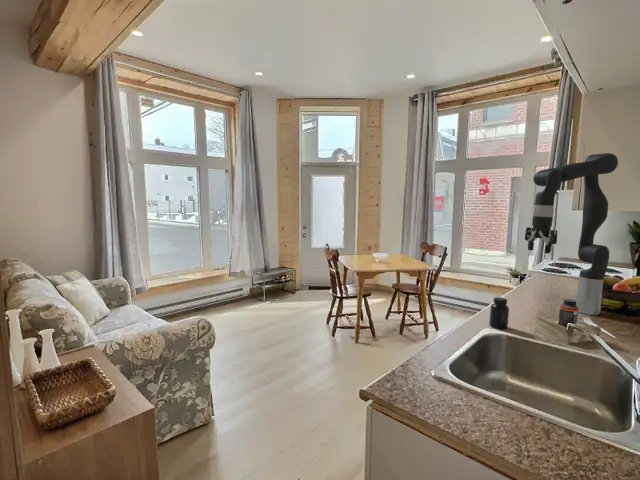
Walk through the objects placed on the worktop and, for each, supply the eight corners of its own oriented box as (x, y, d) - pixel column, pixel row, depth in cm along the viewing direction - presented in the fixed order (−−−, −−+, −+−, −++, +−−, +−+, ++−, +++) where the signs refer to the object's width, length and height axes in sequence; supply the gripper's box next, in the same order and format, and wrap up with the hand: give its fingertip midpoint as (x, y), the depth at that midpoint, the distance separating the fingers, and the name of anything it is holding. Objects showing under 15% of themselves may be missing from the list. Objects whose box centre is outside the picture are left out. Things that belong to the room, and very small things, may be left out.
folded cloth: (564, 327, 148) (566, 314, 147) (599, 340, 135) (601, 327, 134) (535, 329, 144) (536, 317, 143) (567, 343, 130) (569, 330, 130)
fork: (610, 339, 139) (611, 334, 138) (581, 320, 158) (581, 316, 158) (620, 340, 138) (620, 335, 138) (588, 321, 158) (589, 317, 158)
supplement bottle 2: (578, 331, 136) (582, 303, 134) (561, 329, 137) (565, 301, 135) (571, 325, 141) (575, 298, 140) (554, 324, 143) (558, 297, 141)
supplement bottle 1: (505, 325, 148) (508, 297, 146) (508, 330, 141) (511, 302, 140) (487, 322, 150) (490, 295, 149) (490, 328, 144) (492, 299, 142)
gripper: (564, 216, 149) (559, 254, 151) (535, 214, 163) (531, 249, 165) (550, 216, 147) (546, 254, 149) (522, 214, 161) (518, 249, 163)
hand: (538, 251), depth 157 cm, fingers open, 8 cm apart
